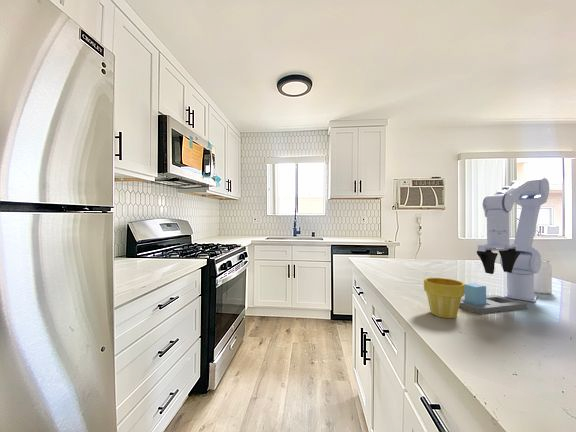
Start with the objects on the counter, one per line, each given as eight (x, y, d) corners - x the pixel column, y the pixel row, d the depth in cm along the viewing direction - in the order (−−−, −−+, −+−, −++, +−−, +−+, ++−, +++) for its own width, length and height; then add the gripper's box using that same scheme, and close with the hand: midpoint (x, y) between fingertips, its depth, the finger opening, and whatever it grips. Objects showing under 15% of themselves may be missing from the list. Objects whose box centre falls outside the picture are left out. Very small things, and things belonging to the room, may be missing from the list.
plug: (464, 305, 85) (464, 284, 85) (474, 304, 85) (474, 283, 86) (476, 310, 81) (475, 287, 81) (486, 308, 82) (486, 286, 82)
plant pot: (467, 313, 78) (467, 280, 78) (461, 324, 70) (461, 287, 70) (429, 306, 84) (428, 275, 85) (419, 314, 77) (419, 281, 77)
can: (556, 294, 96) (556, 262, 96) (534, 293, 98) (534, 261, 98) (544, 290, 102) (544, 259, 102) (524, 289, 104) (524, 258, 104)
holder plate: (450, 303, 87) (449, 299, 87) (494, 299, 91) (494, 294, 91) (478, 314, 77) (478, 308, 77) (527, 308, 82) (526, 303, 82)
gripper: (492, 232, 80) (493, 276, 80) (528, 231, 83) (529, 274, 83) (471, 231, 87) (472, 272, 87) (505, 230, 90) (505, 269, 90)
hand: (498, 272), depth 85 cm, fingers open, 7 cm apart
